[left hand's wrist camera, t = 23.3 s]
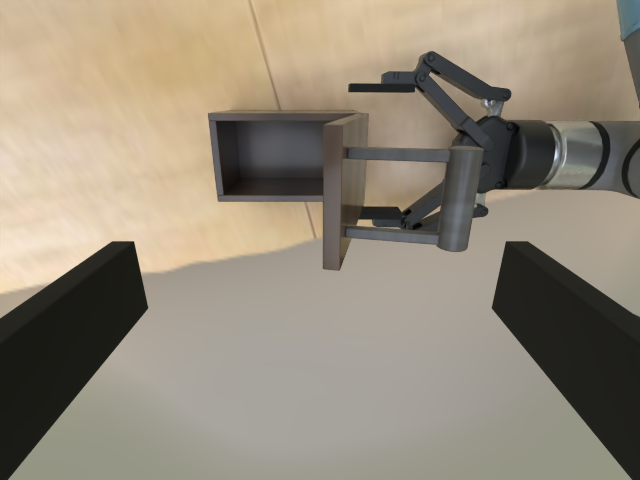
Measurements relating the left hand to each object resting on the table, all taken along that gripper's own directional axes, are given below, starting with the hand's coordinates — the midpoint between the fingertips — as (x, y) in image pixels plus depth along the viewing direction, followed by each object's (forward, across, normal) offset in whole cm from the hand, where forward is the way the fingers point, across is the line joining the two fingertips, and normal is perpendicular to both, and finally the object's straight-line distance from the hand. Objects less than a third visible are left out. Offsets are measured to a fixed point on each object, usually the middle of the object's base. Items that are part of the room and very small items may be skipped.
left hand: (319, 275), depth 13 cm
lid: (+18, +2, 0) cm, 18 cm away
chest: (+36, -4, 0) cm, 36 cm away
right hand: (+29, +3, 0) cm, 29 cm away
